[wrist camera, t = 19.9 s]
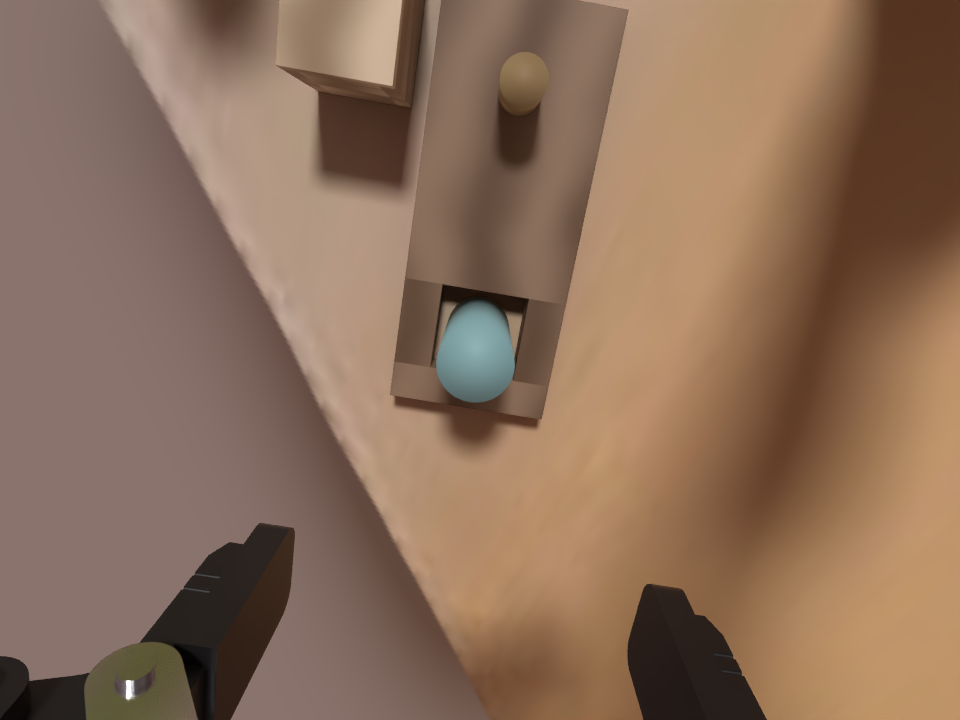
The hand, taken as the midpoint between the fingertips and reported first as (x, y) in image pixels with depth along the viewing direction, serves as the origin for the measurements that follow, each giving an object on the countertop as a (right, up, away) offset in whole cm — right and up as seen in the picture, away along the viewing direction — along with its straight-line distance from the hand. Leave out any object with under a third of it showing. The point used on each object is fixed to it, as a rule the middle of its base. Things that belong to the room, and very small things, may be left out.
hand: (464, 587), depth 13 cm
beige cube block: (-6, +24, +20) cm, 32 cm away
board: (+1, +14, +23) cm, 27 cm away
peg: (0, +7, +25) cm, 26 cm away
